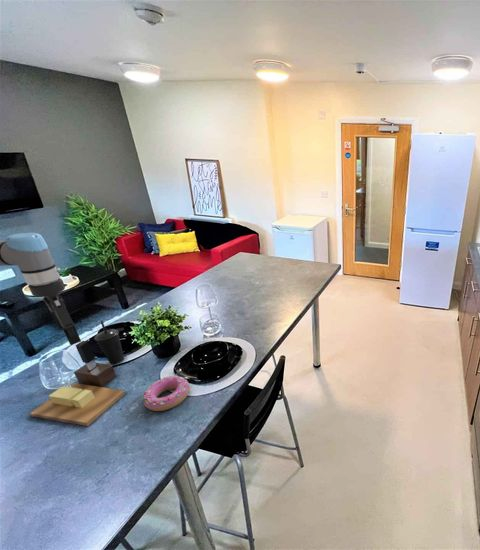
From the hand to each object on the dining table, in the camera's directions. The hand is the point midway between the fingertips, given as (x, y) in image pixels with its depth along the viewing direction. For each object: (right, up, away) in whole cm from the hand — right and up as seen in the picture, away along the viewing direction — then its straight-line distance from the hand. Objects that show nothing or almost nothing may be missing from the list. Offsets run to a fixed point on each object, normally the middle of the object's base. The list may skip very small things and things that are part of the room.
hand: (69, 335), depth 101 cm
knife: (-2, -20, +13) cm, 24 cm away
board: (+2, -25, +2) cm, 25 cm away
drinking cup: (-3, -16, +23) cm, 28 cm away
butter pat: (+4, -24, +1) cm, 25 cm away
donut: (+30, -25, +7) cm, 40 cm away
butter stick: (-2, -24, +2) cm, 24 cm away
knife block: (-2, -20, +13) cm, 24 cm away
